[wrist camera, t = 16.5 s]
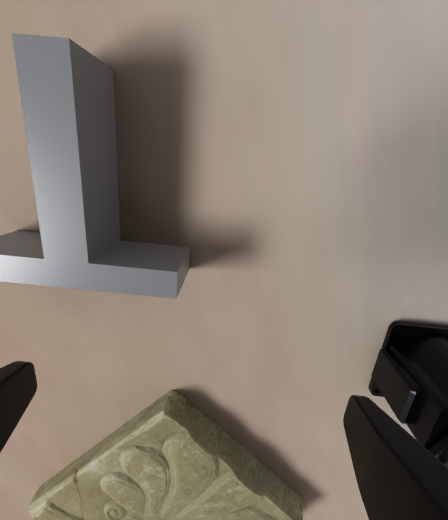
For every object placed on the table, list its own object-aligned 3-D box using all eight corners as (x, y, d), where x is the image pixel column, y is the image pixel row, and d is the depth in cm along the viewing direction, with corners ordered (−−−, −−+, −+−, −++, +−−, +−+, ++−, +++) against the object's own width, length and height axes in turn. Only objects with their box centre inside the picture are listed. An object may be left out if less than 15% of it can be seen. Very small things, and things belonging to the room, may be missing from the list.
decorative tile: (40, 480, 29) (14, 522, 26) (172, 381, 24) (162, 417, 21) (170, 563, 33) (162, 608, 30) (307, 494, 28) (316, 540, 25)
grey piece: (198, 77, 16) (184, 48, 12) (189, 268, 20) (176, 298, 16) (-12, 58, 16) (-102, 23, 12) (21, 252, 20) (-37, 277, 16)
